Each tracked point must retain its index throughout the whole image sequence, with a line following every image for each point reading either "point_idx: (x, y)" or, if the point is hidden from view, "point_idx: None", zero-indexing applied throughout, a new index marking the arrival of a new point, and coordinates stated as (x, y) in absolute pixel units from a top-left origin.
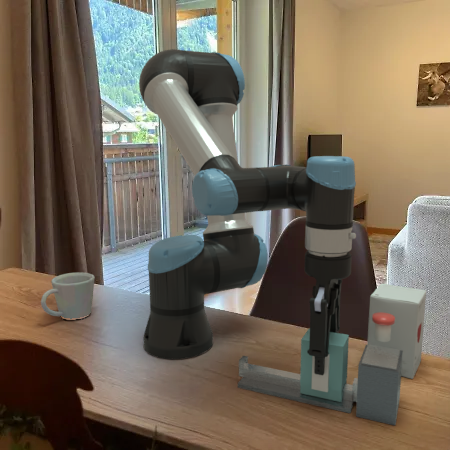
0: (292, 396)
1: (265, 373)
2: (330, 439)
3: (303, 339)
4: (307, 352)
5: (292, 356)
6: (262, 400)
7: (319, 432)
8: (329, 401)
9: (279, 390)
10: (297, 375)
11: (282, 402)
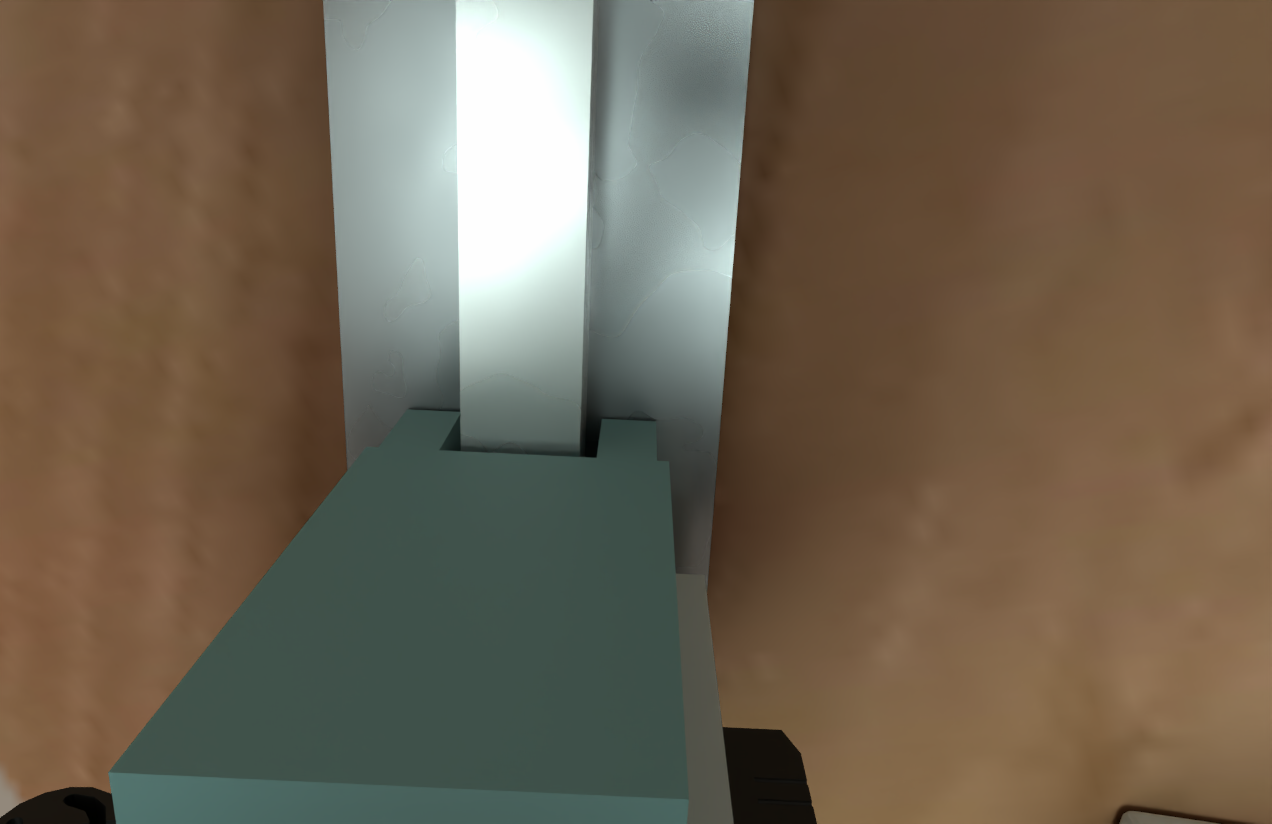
0: (345, 348)
1: (460, 3)
2: (7, 688)
3: (127, 807)
4: (16, 810)
5: (1238, 125)
6: (222, 73)
7: (41, 614)
8: None
9: (378, 208)
10: (545, 374)
11: (280, 264)
